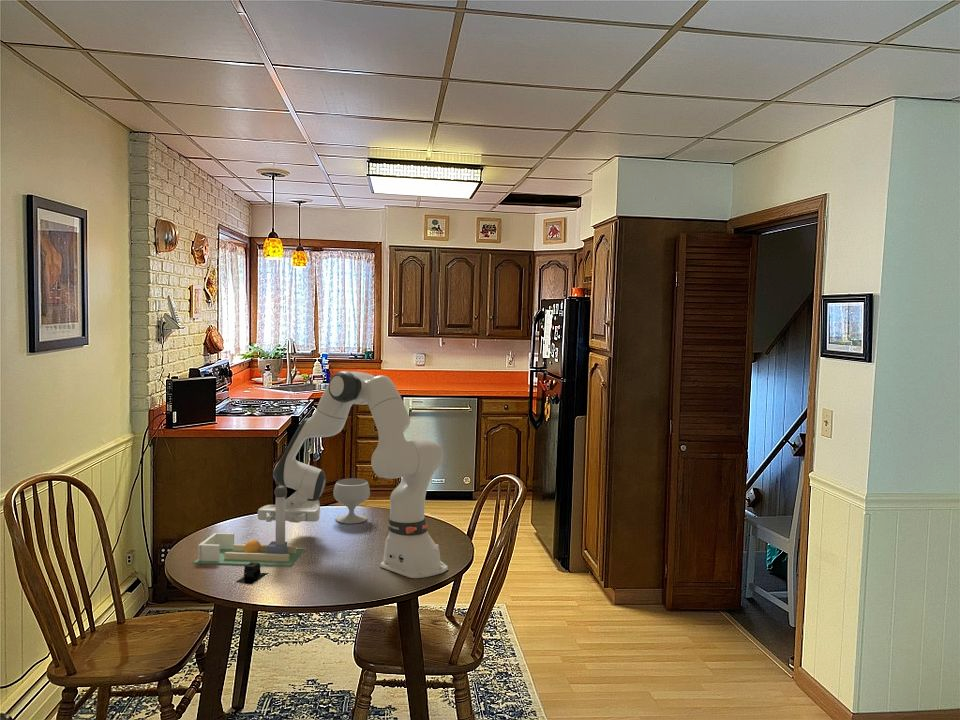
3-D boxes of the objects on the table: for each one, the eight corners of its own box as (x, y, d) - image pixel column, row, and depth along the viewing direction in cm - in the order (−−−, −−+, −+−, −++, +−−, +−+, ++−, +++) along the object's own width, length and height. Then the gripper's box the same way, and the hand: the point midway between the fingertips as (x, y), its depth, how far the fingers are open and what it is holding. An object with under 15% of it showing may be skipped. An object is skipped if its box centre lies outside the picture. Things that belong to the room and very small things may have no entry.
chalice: (371, 524, 269) (372, 485, 268) (334, 526, 265) (335, 486, 264) (367, 514, 282) (367, 477, 282) (331, 516, 278) (332, 478, 278)
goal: (298, 550, 236) (298, 535, 235) (286, 563, 223) (286, 547, 222) (214, 547, 236) (214, 532, 236) (198, 560, 223) (198, 545, 223)
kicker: (288, 552, 232) (289, 484, 230) (283, 557, 227) (284, 488, 225) (271, 551, 232) (272, 483, 230) (266, 556, 227) (267, 487, 225)
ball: (263, 556, 229) (263, 540, 229) (247, 558, 226) (247, 543, 226) (257, 551, 233) (257, 536, 233) (242, 554, 230) (242, 539, 230)
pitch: (305, 550, 237) (305, 548, 237) (291, 566, 221) (291, 565, 221) (213, 547, 238) (213, 545, 238) (193, 563, 222) (193, 562, 222)
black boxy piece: (253, 571, 218) (253, 556, 218) (274, 573, 216) (274, 559, 216) (229, 585, 206) (229, 570, 206) (251, 588, 204) (251, 573, 204)
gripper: (265, 498, 244) (250, 509, 231) (323, 500, 244) (313, 511, 230) (264, 516, 245) (250, 528, 231) (323, 518, 244) (313, 530, 230)
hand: (282, 519), depth 230 cm, fingers open, 8 cm apart
